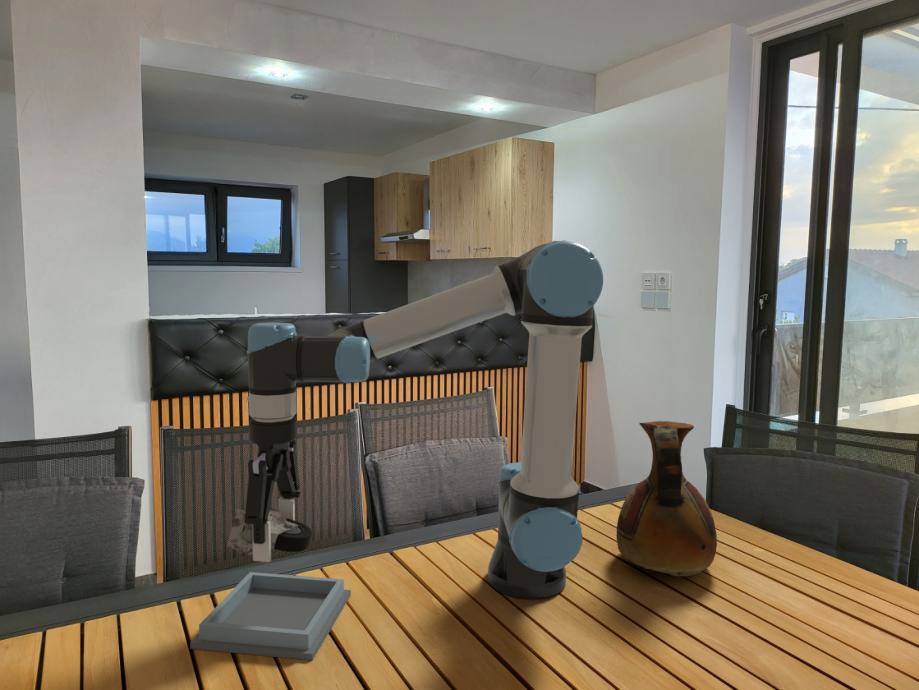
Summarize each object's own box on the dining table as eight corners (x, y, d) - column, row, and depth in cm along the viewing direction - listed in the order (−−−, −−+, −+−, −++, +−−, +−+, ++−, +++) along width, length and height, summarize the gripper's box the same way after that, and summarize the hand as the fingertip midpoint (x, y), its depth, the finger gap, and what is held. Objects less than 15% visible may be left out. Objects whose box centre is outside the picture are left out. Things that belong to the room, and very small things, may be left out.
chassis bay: (350, 595, 118) (350, 577, 118) (312, 660, 98) (312, 638, 98) (247, 586, 121) (247, 569, 120) (190, 648, 101) (189, 627, 101)
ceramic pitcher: (704, 548, 141) (712, 414, 137) (725, 593, 121) (735, 439, 117) (612, 540, 144) (618, 409, 140) (618, 583, 124) (625, 432, 121)
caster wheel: (314, 555, 111) (282, 572, 102) (260, 532, 114) (224, 547, 105) (324, 518, 111) (293, 532, 101) (269, 497, 114) (234, 508, 105)
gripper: (278, 402, 117) (280, 520, 119) (217, 432, 95) (221, 576, 98) (318, 404, 116) (319, 523, 118) (266, 435, 94) (268, 580, 97)
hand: (275, 547), depth 108 cm, fingers closed on caster wheel, 9 cm apart
